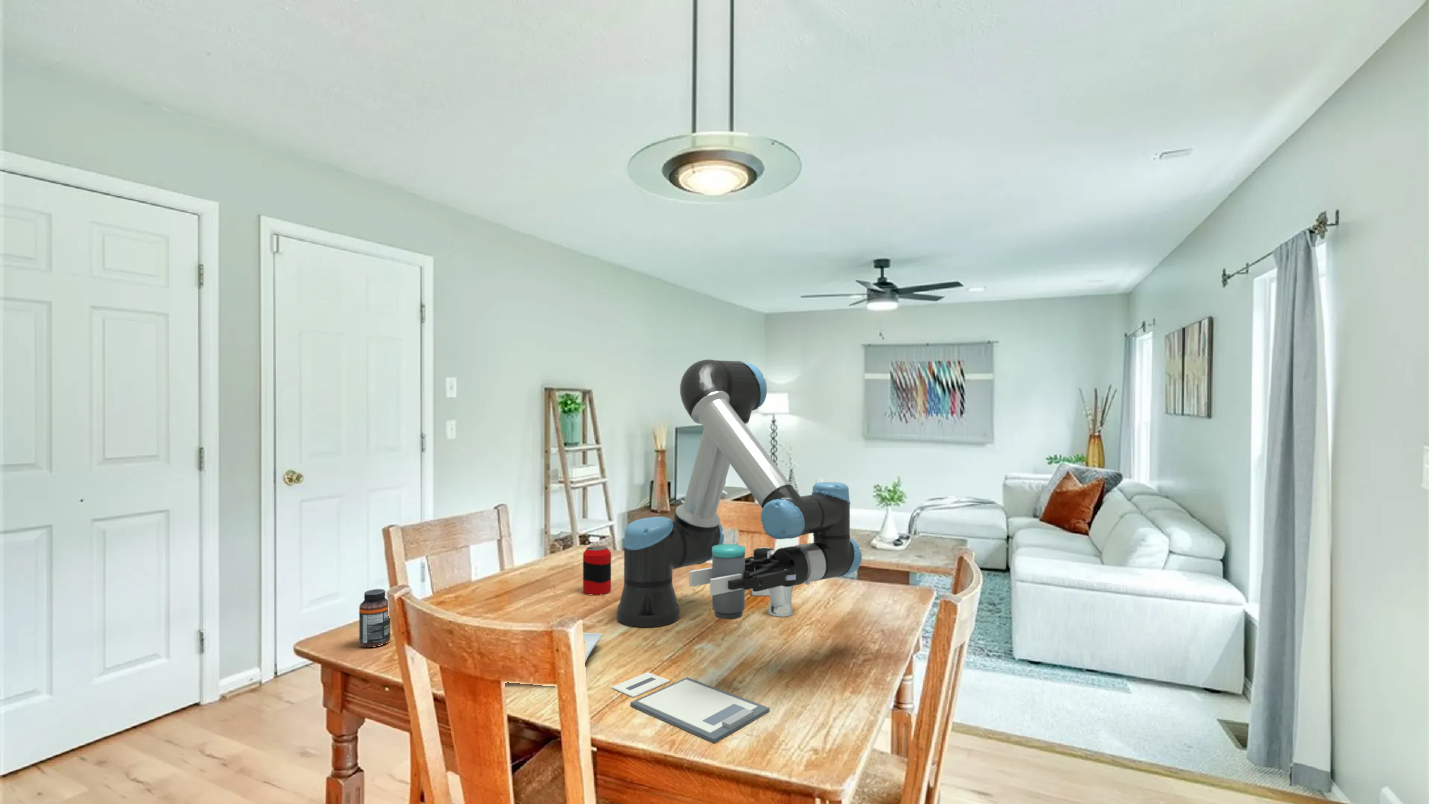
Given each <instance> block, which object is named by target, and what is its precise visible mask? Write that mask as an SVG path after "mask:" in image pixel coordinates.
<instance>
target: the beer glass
mask: <svg viewBox="0 0 1429 804" xmlns="http://www.w3.org/2000/svg"><path fill="white" fill-rule="evenodd" d="M776 550H777V549H774V550H770V551H768V552H767V558H772V556H773V554H774V552H775V551H776ZM793 588H794V586H790V587H784V586H778V587H774V588H770V589H769V593H770V596H769V605H768V609H767V610H768V611H767V612H768V614H769V616H773V617H779V618H780V617H781V618H784V617H791V616H792V615H793V614H794V609H793V605H792V604H793V602H792V596H793V595H792V594H793Z"/></svg>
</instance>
